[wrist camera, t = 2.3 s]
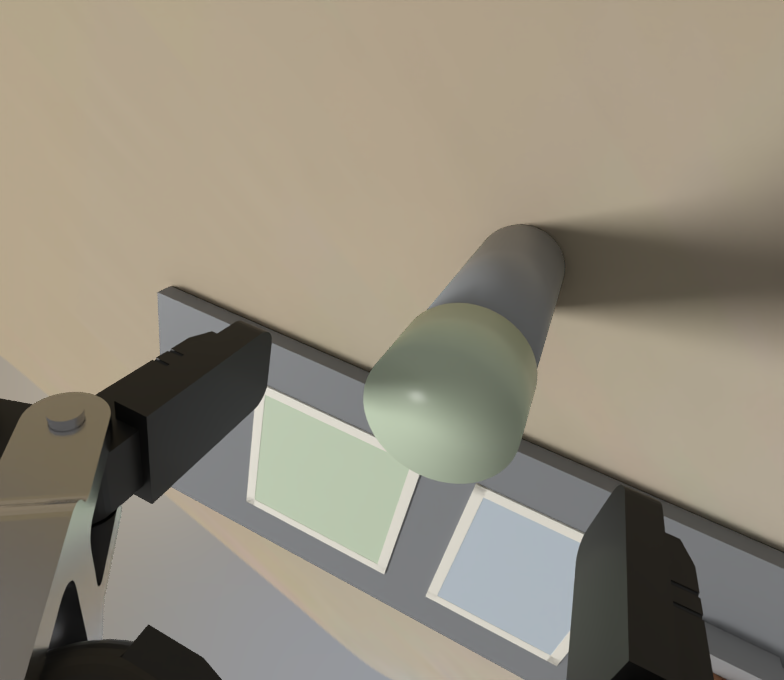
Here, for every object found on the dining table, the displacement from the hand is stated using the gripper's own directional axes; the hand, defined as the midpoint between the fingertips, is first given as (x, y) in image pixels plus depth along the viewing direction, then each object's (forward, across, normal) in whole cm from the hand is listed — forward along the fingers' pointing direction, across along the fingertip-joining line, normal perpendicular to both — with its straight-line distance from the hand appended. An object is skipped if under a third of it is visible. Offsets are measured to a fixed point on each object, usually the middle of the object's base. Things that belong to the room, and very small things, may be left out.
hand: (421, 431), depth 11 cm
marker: (+12, 0, 0) cm, 12 cm away
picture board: (+12, -1, +16) cm, 20 cm away
